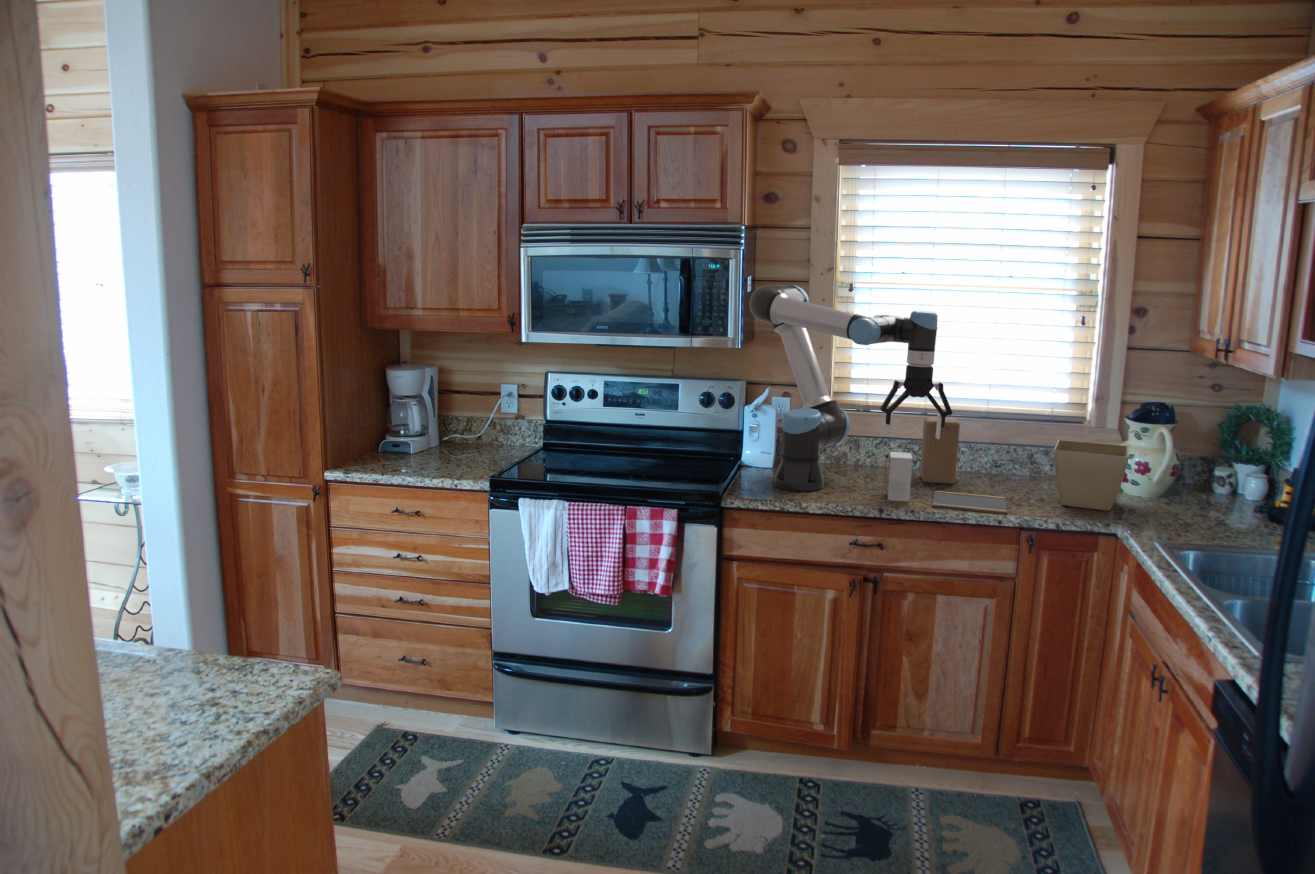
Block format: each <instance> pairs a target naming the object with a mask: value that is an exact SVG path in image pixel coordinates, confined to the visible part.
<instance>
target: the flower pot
mask: <svg viewBox="0 0 1315 874" xmlns="http://www.w3.org/2000/svg"><path fill="white" fill-rule="evenodd" d="M1129 451H1130V446H1129V445H1122V444H1114V443H1102V442H1100V443H1099V442H1095V441H1094V442H1092V441H1091V442H1090V441H1080V440H1079V441H1078V440H1068V439H1058V440H1057V441H1056V444H1055V446H1054V448H1053V463H1054V474H1055V481H1056V487H1057V493H1058V499H1059V501H1060V505H1062V506H1068V507H1075V508H1082V509H1090V510H1098V511H1108V512H1109V511H1110V510H1111V509H1112V507H1113V506H1114V503H1115V501H1116V498H1117V497H1118V494H1119V491H1120V489H1121V486H1122V483H1123V480H1124V476H1125V473H1126V470H1127V467H1128V462H1129V460H1130V459H1129V458H1130V454H1129V453H1130V452H1129Z"/></svg>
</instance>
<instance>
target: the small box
mask: <svg viewBox="0 0 1315 874" xmlns="http://www.w3.org/2000/svg"><path fill="white" fill-rule="evenodd" d="M888 456H889V458H888V471H887V472H888V473H887V474H888V475H887V488H886V495H887V501H892V502H893V501H894V502H895V501H896V502H907V503H909V502H910V499H911V498H910V497H911V482H912V481H911V479H912V467H913V466H912V465H913V455H912V453H910V452H903V451H902V452H901V451H900V452H899V451H889V453H888Z"/></svg>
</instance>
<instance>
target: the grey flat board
mask: <svg viewBox="0 0 1315 874" xmlns="http://www.w3.org/2000/svg"><path fill="white" fill-rule="evenodd" d="M1006 499H1007V497H1005V496H993V495H984V494H982V495H981V494H973V493H962V492H952V491H951V492H950V491H943V490H942V491H941V490H935V491H934V494H933V500H932V504H931V507H932V508H938V509H945V510H946V509H948V510H957V511H959V510H960V511H967V510H968V511H967V512H970V511H971V512H977V513H978V512H979V513H990V514H999V515H1008V505H1007V500H1006Z"/></svg>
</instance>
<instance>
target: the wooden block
mask: <svg viewBox="0 0 1315 874" xmlns="http://www.w3.org/2000/svg"><path fill="white" fill-rule="evenodd" d="M936 426H937V416H931V415H930V416H929V415H928V416H924V419H923V431H922V440H921V441H922V443H921V456H920V469H919V474H920V477H921V479H922V482H923V483H926V484H944V485H945V484H946V485H947V484H948V485H953V484H955V483H956V475H957V462H958V451H959V450H958V449H959V437H960V436H959V435H960V423H959V420H957V418H955V417H953V416H951V417H950V416H946V417H945V426H944V427H941V430H940V439H937V438H936Z"/></svg>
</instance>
